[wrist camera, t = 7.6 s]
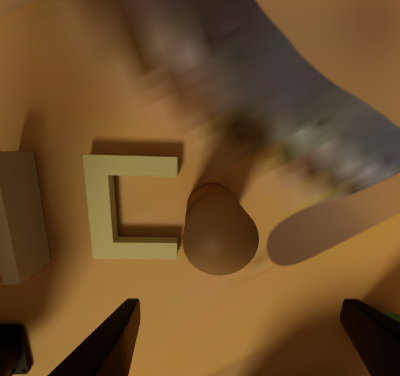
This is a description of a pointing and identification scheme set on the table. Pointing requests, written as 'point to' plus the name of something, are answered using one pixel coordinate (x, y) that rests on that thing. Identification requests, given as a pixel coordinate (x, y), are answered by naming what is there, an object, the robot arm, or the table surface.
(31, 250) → the backstop wall
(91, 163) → the bracket
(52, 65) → the table surface
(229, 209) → the brown piece
